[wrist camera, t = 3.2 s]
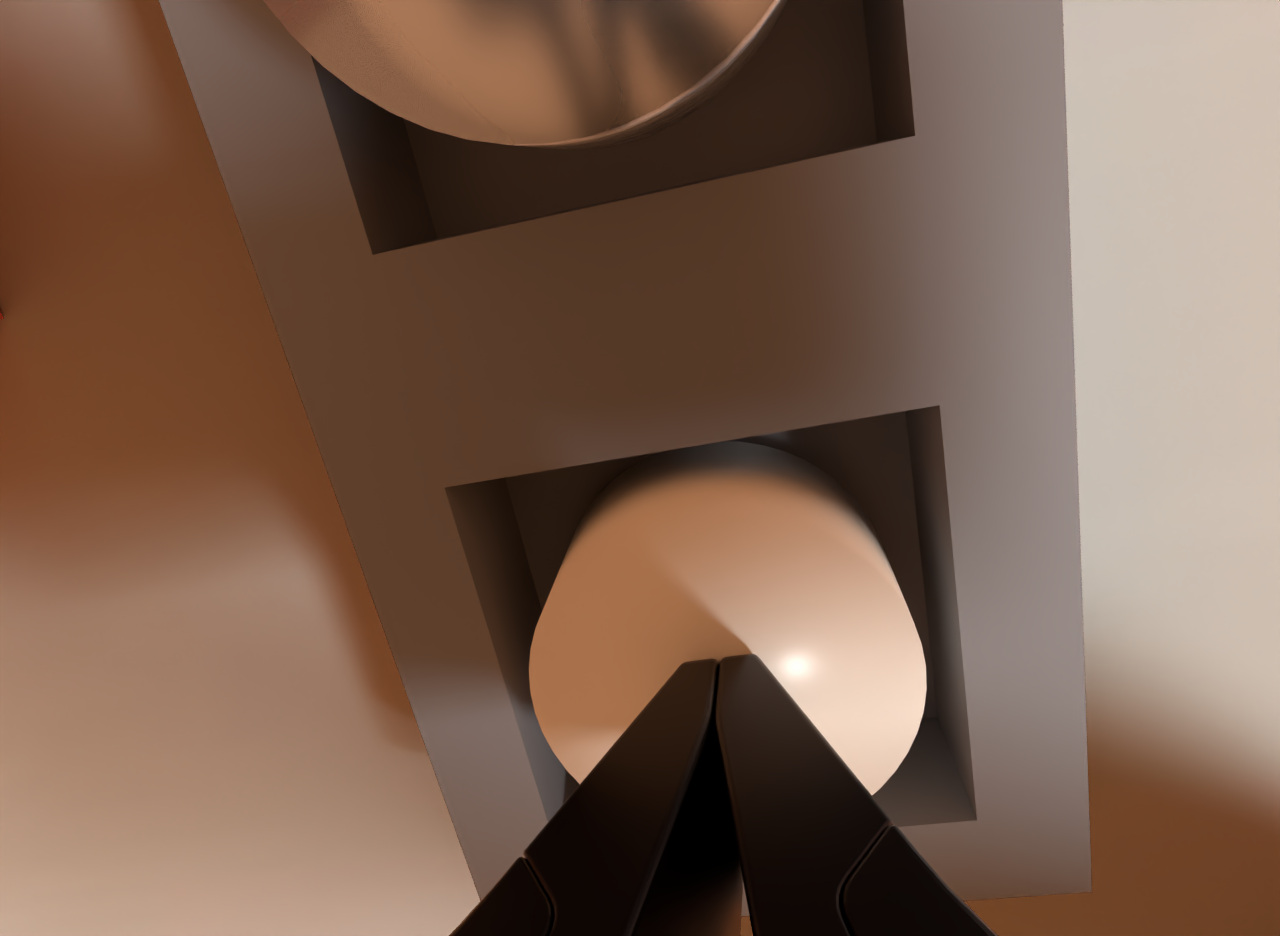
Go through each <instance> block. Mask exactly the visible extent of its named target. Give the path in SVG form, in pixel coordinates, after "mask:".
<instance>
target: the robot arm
mask: <svg viewBox="0 0 1280 936" xmlns="http://www.w3.org/2000/svg"><path fill="white" fill-rule="evenodd" d="M743 883H744V889H745V894H746V900H747V905H748V910H749V916H750V921H751V927H752V932H753V936H998V935H997V934H996V933H995V932H994V931H993V930H992V929H991V928H990V927H989V926H988V925H987V924H986V923H985V922H984V921H983V920H982V919H981V918H980V917H979V916H978V915H977V914H976V913H975V912H974V911H972V910H971V909H970V908H969V907H968V906H967V905H966V904H965V903H964V902H963V901H962V900H961V899H960V898H959V897H958V896H957V895H956V894H955V893H954V892H953V891H952V889H951V888H950V887H949V886H948V885H947V884H946V883H945V882H944V880H943V879H942V878H941V877H940V876H939V875H938V874H937V872H936V871H935V870H934V869H933V868H932V867H931V866H930V865H929V863H928V862H927V861H926V860H925V859H924V858H923V857H922V855H921V854H920V853H919V852H918V851H917V850H916V848H915V847H914V846H913V845H912V843H911V842H910V841H909V840H908V839H907V837H906V836H905V835H904V834H903V832H902V831H901V830H900V829H899V828H898V827H897V826H895V825H894V823H893V821H892V820H891V818H890V817H889V816H888V815H887V813H886V812H885V811H884V810H883V808H882V807H881V806H880V805H879V804H878V802H877V801H876V800H875V799H874V797H873V796H872V795H871V794H870V793H869V791H868V790H867V789H866V788H865V786H864V785H863V784H862V783H861V782H860V780H859V779H858V778H857V777H856V775H855V774H854V773H853V772H852V770H851V769H850V768H849V767H848V766H847V764H846V763H845V762H844V761H843V759H842V758H841V757H840V756H839V755H838V753H837V752H836V751H835V750H834V748H833V747H832V746H831V745H830V744H829V742H828V741H827V740H826V739H825V737H824V736H823V735H822V734H821V733H820V731H819V730H818V729H817V728H816V726H815V725H814V724H813V723H812V721H811V720H810V719H809V718H808V717H807V715H806V714H805V713H804V712H803V710H802V709H801V708H800V707H799V706H798V704H797V703H796V702H795V701H794V699H793V698H792V697H791V696H790V695H789V693H788V692H787V691H786V690H785V688H784V687H783V686H782V685H781V683H780V682H779V681H778V680H777V679H776V677H775V676H774V675H773V674H772V672H771V671H770V670H769V669H768V668H767V666H766V665H765V664H764V663H763V661H762V660H761V659H760V658H759V657H758V656H757V655H755V654H744V655H736V656H728V657H724V658H722V659H721V661H720V663H719V662H718V661H717V660H716V659H704V660H696V661H688V662H684V663H682V664H681V665H680V666H679V667H678V668H677V669H676V671H675V672H674V673H673V674H672V675H671V676H670V678H669V679H668V680H667V681H666V682H665V684H664V685H663V686H662V687H661V688H660V690H659V691H658V692H657V693H656V694H655V696H654V697H653V698H652V699H651V700H650V701H649V703H648V704H647V705H646V706H645V707H644V709H643V710H642V711H641V712H640V713H639V715H638V716H637V717H636V718H635V719H634V721H633V722H632V723H631V724H630V725H629V726H628V728H627V729H626V730H625V731H624V732H623V734H622V735H621V736H620V737H619V738H618V740H617V741H616V742H615V743H614V744H613V745H612V747H611V748H610V749H609V750H608V751H607V753H606V754H605V755H604V756H603V757H602V759H601V760H600V761H599V762H598V763H597V765H596V766H595V767H594V768H593V769H592V770H591V772H590V773H589V774H588V775H587V776H586V778H585V779H584V780H583V781H582V782H581V784H580V785H579V786H578V787H577V788H576V790H575V791H574V792H573V793H572V794H571V795H570V797H569V798H568V799H567V800H566V801H565V803H564V804H563V805H562V806H561V807H560V809H559V810H558V811H557V812H556V813H555V815H554V816H553V817H552V818H551V819H550V820H549V822H548V823H547V824H546V825H545V826H544V828H543V829H542V830H541V831H540V832H539V834H538V835H537V836H536V837H535V838H534V840H533V841H532V842H531V843H530V844H529V845H528V847H527V848H526V849H525V850H524V852H523V857H519V858H517V859H516V860H515V862H514V863H513V864H512V865H511V866H510V868H509V869H508V870H507V871H506V872H505V874H504V875H503V876H502V877H501V878H500V880H499V881H498V882H497V883H496V884H495V885H494V886H493V888H492V889H491V890H490V891H489V892H488V893H487V894H486V896H485V897H484V898H483V899H482V900H481V901H480V902H479V903H478V905H477V906H476V907H475V908H474V909H473V910H472V911H471V912H470V914H469V915H468V916H467V917H466V918H465V919H464V920H463V921H462V923H461V924H460V925H459V926H458V927H457V928H456V929H455V930H454V931H453V932H452V933H451V934H450V935H449V936H740V932H741V913H742V894H743Z"/></svg>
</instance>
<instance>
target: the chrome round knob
mask: <svg viewBox="0 0 1280 936" xmlns="http://www.w3.org/2000/svg"><path fill="white" fill-rule="evenodd" d="M263 1H264V2H265V3H266V5H267V6H268V7H269V8H270V10H271V11H272V12H273V13H274V15H275V16H276V17H277V18H278V19H279V21H280V22H281V23H282V24H283V26H284V27H285V28H286V29H287V31H288V32H289V33H290V34H291V35H292V36H293V37H294V38H295V39H296V40H297V41H298V42H299V43H300V44H301V45H302V46H303V47H304V48H305V49H306V50H307V51H308V52H309V53H310V54H311V55H312V56H313V57H314V58H315V59H316V60H317V61H318V62H319V63H320V64H321V65H322V66H323V67H324V68H326V69H327V70H328V71H330V72H331V73H332V74H333V75H335V76H336V77H337V78H339V79H340V80H341V81H342V82H344V83H345V84H346V85H348V86H349V87H350V88H352V89H353V90H354V91H355V92H357V93H358V94H360V95H362V96H363V97H365V98H367V99H369V100H370V101H372V102H374V103H375V104H377V105H379V106H380V107H382V108H384V109H385V110H387V111H389V112H391V113H392V114H395V115H397V116H399V117H402V118H404V119H406V120H409V121H411V122H413V123H416V124H418V125H420V126H423V127H425V128H427V129H430V130H434V131H437V132H441V133H445V134H448V135H452V136H456V137H459V138H463V139H466V140H474V141H481V142H489V143H497V144H505V145H515V146H526V147H537V148H548V149H559V150H588V149H597V148H604V147H610V146H616V145H622V144H625V143H628V142H631V141H635V140H638V139H641V138H644V137H648V136H650V135H652V134H654V133H657V132H659V131H661V130H663V129H665V128H667V127H670V126H672V125H674V124H676V123H678V122H679V121H681V120H682V119H684V118H685V117H687V116H688V115H690V114H692V113H693V112H695V111H696V110H698V109H699V108H701V107H702V106H704V105H705V104H706V103H707V102H708V101H710V100H711V99H712V98H713V97H714V96H716V95H717V94H718V93H719V92H720V91H721V90H723V89H724V88H725V87H726V86H727V85H728V84H729V83H730V82H731V81H732V80H733V79H734V78H735V77H736V76H737V74H738V73H739V72H740V71H741V70H742V69H743V68H744V67H745V66H746V65H747V64H748V62H749V61H750V60H751V59H752V57H753V56H754V55H755V53H756V52H757V50H758V49H759V48H760V46H761V45H762V43H763V42H764V41H765V39H766V38H767V36H768V35H769V34H770V32H771V30H772V28H773V27H774V25H775V23H776V21H777V19H778V17H779V16H780V14H781V12H782V10H783V8H784V7H785V5H786V3H787V1H788V0H263Z"/></svg>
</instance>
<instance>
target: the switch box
mask: <svg viewBox="0 0 1280 936" xmlns="http://www.w3.org/2000/svg"><path fill="white" fill-rule="evenodd" d="M159 3H160V6H161V8H162V11H163V14H164V17H165V20H166V22H167V25H168V28H169V31H170V34H171V36H172V39H173V42H174V45H175V48H176V50H177V53H178V56H179V59H180V62H181V64H182V67H183V70H184V73H185V75H186V78H187V81H188V84H189V87H190V89H191V92H192V95H193V98H194V101H195V103H196V106H197V109H198V112H199V115H200V117H201V120H202V123H203V126H204V129H205V131H206V134H207V137H208V140H209V143H210V145H211V148H212V151H213V154H214V157H215V159H216V162H217V165H218V168H219V171H220V173H221V176H222V179H223V182H224V185H225V187H226V190H227V193H228V196H229V199H230V201H231V204H232V207H233V210H234V213H235V215H236V218H237V221H238V224H239V227H240V229H241V232H242V235H243V238H244V241H245V243H246V246H247V249H248V252H249V254H250V257H251V260H252V263H253V266H254V268H255V271H256V274H257V277H258V280H259V282H260V285H261V288H262V291H263V294H264V296H265V299H266V302H267V305H268V308H269V310H270V313H271V316H272V319H273V322H274V324H275V327H276V330H277V333H278V336H279V338H280V341H281V344H282V347H283V350H284V352H285V355H286V358H287V361H288V364H289V366H290V369H291V372H292V375H293V378H294V380H295V383H296V386H297V389H298V392H299V394H300V397H301V400H302V403H303V406H304V408H305V411H306V414H307V417H308V419H309V422H310V425H311V428H312V431H313V433H314V436H315V439H316V442H317V445H318V447H319V450H320V453H321V456H322V459H323V461H324V464H325V467H326V470H327V473H328V475H329V478H330V481H331V484H332V487H333V489H334V492H335V495H336V498H337V501H338V503H339V506H340V509H341V512H342V515H343V517H344V520H345V523H346V526H347V529H348V531H349V534H350V537H351V540H352V543H353V545H354V548H355V551H356V554H357V557H358V559H359V562H360V565H361V568H362V571H363V573H364V576H365V579H366V582H367V584H368V587H369V590H370V593H371V596H372V598H373V601H374V604H375V607H376V610H377V612H378V615H379V618H380V621H381V624H382V626H383V629H384V632H385V635H386V638H387V640H388V643H389V646H390V649H391V652H392V654H393V657H394V660H395V663H396V666H397V668H398V671H399V674H400V677H401V680H402V682H403V685H404V688H405V691H406V694H407V696H408V699H409V702H410V705H411V708H412V710H413V713H414V716H415V719H416V722H417V724H418V727H419V730H420V733H421V736H422V738H423V741H424V744H425V747H426V750H427V752H428V755H429V758H430V761H431V763H432V766H433V769H434V772H435V775H436V777H437V780H438V783H439V786H440V789H441V791H442V794H443V797H444V800H445V803H446V805H447V808H448V811H449V814H450V817H451V819H452V822H453V825H454V828H455V831H456V833H457V836H458V839H459V842H460V845H461V847H462V850H463V853H464V856H465V859H466V861H467V864H468V867H469V870H470V873H471V875H472V878H473V881H474V884H475V887H476V889H477V892H478V895H479V898H480V901H481V900H482V899H483V898H484V897H485V896H486V894H487V893H488V892H489V891H490V890H491V889H492V888H493V886H494V885H495V884H496V883H497V882H498V881H499V880H500V878H501V877H502V876H503V875H504V874H505V872H506V871H507V870H508V869H509V868H510V866H511V865H512V864H513V863H514V862H515V860H516V859H517V858H519V857H523V852H524V850H525V849H526V848H527V847H528V845H529V844H530V843H531V842H532V841H533V840H534V838H535V837H536V836H537V835H538V834H539V832H540V831H541V830H542V829H543V828H544V826H545V825H546V824H547V823H548V822H549V820H550V819H551V818H552V817H553V816H554V815H555V813H556V812H557V811H558V810H559V809H560V807H561V806H562V805H563V804H564V803H565V801H566V800H567V799H568V798H569V797H570V795H571V794H572V793H573V792H574V791H575V790H576V788H577V787H578V786H579V785H580V784H579V783H578V782H577V781H576V780H575V779H574V778H573V776H572V775H571V774H570V773H569V772H568V771H567V770H566V769H565V768H564V766H563V765H562V763H561V762H560V761H559V759H558V758H557V757H556V755H555V754H554V752H553V751H552V749H551V747H550V745H549V744H548V742H547V740H546V738H545V736H544V734H543V733H542V730H541V727H540V725H539V722H538V719H537V717H536V714H535V711H534V706H533V702H532V697H531V693H530V681H529V661H530V649H531V645H532V640H533V636H534V632H535V628H536V625H537V623H538V621H539V618H540V616H541V613H542V611H543V608H544V606H545V604H546V601H547V599H548V596H549V594H550V591H551V589H552V586H553V584H554V582H555V579H556V577H557V574H558V572H559V569H560V567H561V565H562V562H563V560H564V557H565V555H566V552H567V550H568V548H569V545H570V543H571V540H572V538H573V535H574V533H575V531H576V528H577V526H578V524H579V522H580V520H581V519H582V517H583V515H584V513H585V512H586V510H587V508H588V507H589V506H590V504H591V503H592V502H593V501H594V499H595V498H596V497H597V496H598V495H599V493H600V492H601V491H602V490H603V489H604V488H605V487H606V486H607V485H609V484H610V483H611V482H612V481H613V480H614V479H615V478H616V477H618V476H619V475H620V474H622V473H623V472H625V471H626V470H627V469H629V468H630V467H632V466H633V465H635V464H637V463H639V462H641V461H643V460H645V459H647V458H649V457H650V456H653V455H655V454H658V453H661V452H664V451H667V450H673V449H679V448H685V447H691V446H697V445H704V444H710V443H716V442H722V441H739V442H746V443H753V444H760V445H764V446H768V447H771V448H775V449H779V450H782V451H785V452H787V453H790V454H792V455H795V456H797V457H799V458H802V459H804V460H806V461H808V462H809V463H811V464H813V465H815V466H816V467H818V468H820V469H821V470H823V471H824V472H826V473H827V474H828V475H830V476H831V477H832V478H834V479H835V480H836V481H837V482H839V483H840V484H841V485H842V486H843V487H844V488H845V489H846V490H847V491H848V492H849V493H850V494H851V495H852V496H853V497H854V498H855V499H856V500H857V502H858V503H859V505H860V506H861V507H862V509H863V510H864V511H865V513H866V514H867V515H868V517H869V519H870V521H871V523H872V524H873V526H874V528H875V530H876V532H877V534H878V536H879V539H880V541H881V544H882V546H883V548H884V551H885V553H886V556H887V558H888V561H889V563H890V565H891V568H892V570H893V573H894V575H895V578H896V580H897V583H898V585H899V587H900V590H901V592H902V595H903V597H904V600H905V602H906V604H907V607H908V609H909V612H910V614H911V617H912V619H913V621H914V624H915V627H916V630H917V633H918V635H919V638H920V641H921V644H922V648H923V654H924V659H925V664H926V684H927V691H926V698H925V706H924V712H923V716H922V719H921V722H920V726H919V729H918V732H917V735H916V737H915V739H914V741H913V743H912V745H911V747H910V750H909V752H908V753H907V755H906V756H905V758H904V759H903V761H902V762H901V764H900V765H899V767H898V768H897V770H896V771H895V773H894V774H893V775H892V776H891V777H890V778H889V779H888V780H887V781H886V783H885V784H884V785H883V786H882V787H881V788H880V789H879V790H878V791H877V792H875V793H874V794H873V795H872V796H873V797H874V799H875V800H876V801H877V802H878V804H879V805H880V806H881V807H882V808H883V810H884V811H885V812H886V813H887V815H888V816H889V817H890V818H891V820H892V821H893V823H894V825H895V826H897V827H898V828H899V829H900V830H901V831H902V832H903V834H904V835H905V836H906V837H907V839H908V840H909V841H910V842H911V843H912V845H913V846H914V847H915V848H916V850H917V851H918V852H919V853H920V854H921V855H922V857H923V858H924V859H925V860H926V861H927V862H928V863H929V865H930V866H931V867H932V868H933V869H934V870H935V871H936V872H937V874H938V875H939V876H940V877H941V878H942V879H943V880H944V882H945V883H946V884H947V885H948V886H949V887H950V888H951V889H952V891H953V892H954V893H955V894H956V895H957V896H958V897H959V898H960V899H961V900H962V901H970V900H985V899H999V898H1013V897H1027V896H1042V895H1056V894H1070V893H1085V892H1092V880H1091V850H1090V819H1089V789H1088V759H1087V729H1086V699H1085V669H1084V639H1083V609H1082V579H1081V549H1080V519H1079V489H1078V459H1077V429H1076V399H1075V369H1074V339H1073V309H1072V279H1071V249H1070V218H1069V188H1068V158H1067V128H1066V98H1065V68H1064V38H1063V8H1062V0H788V1H787V3H786V5H785V7H784V8H783V10H782V12H781V14H780V16H779V17H778V19H777V21H776V23H775V25H774V27H773V28H772V30H771V32H770V34H769V35H768V36H767V38H766V39H765V41H764V42H763V43H762V45H761V46H760V48H759V49H758V50H757V52H756V53H755V55H754V56H753V57H752V59H751V60H750V61H749V62H748V64H747V65H746V66H745V67H744V68H743V69H742V70H741V71H740V72H739V73H738V74H737V76H736V77H735V78H734V79H733V80H732V81H731V82H730V83H729V84H728V85H727V86H726V87H725V88H724V89H723V90H721V91H720V92H719V93H718V94H717V95H716V96H714V97H713V98H712V99H711V100H710V101H708V102H707V103H706V104H705V105H704V106H702V107H701V108H699V109H698V110H696V111H695V112H693V113H692V114H690V115H688V116H687V117H685V118H684V119H682V120H681V121H679V122H678V123H676V124H674V125H672V126H670V127H667V128H665V129H663V130H661V131H659V132H657V133H654V134H652V135H650V136H648V137H644V138H641V139H638V140H635V141H631V142H628V143H625V144H622V145H616V146H610V147H604V148H597V149H588V150H559V149H548V148H537V147H526V146H515V145H505V144H497V143H489V142H481V141H474V140H466V139H463V138H459V137H456V136H452V135H448V134H445V133H441V132H437V131H434V130H430V129H427V128H425V127H423V126H420V125H418V124H416V123H413V122H411V121H409V120H406V119H404V118H402V117H399V116H397V115H395V114H392V113H391V112H389V111H387V110H385V109H384V108H382V107H380V106H379V105H377V104H375V103H374V102H372V101H370V100H369V99H367V98H365V97H363V96H362V95H360V94H358V93H357V92H355V91H354V90H353V89H352V88H350V87H349V86H348V85H346V84H345V83H344V82H342V81H341V80H340V79H339V78H337V77H336V76H335V75H333V74H332V73H331V72H330V71H328V70H327V69H326V68H324V67H323V66H322V65H321V64H320V63H319V62H318V61H317V60H316V59H315V58H314V57H313V56H312V55H311V54H310V53H309V52H308V51H307V50H306V49H305V48H304V47H303V46H302V45H301V44H300V43H299V42H298V41H297V40H296V39H295V38H294V37H293V36H292V35H291V34H290V33H289V32H288V31H287V29H286V28H285V27H284V26H283V24H282V23H281V22H280V21H279V19H278V18H277V17H276V16H275V15H274V13H273V12H272V11H271V10H270V8H269V7H268V6H267V5H266V3H265V2H264V1H263V0H159ZM742 916H749V910H748V905H747V900H746V894H745V889H744V883H743V894H742V913H741V917H742Z"/></svg>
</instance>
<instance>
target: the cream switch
mask: <svg viewBox="0 0 1280 936" xmlns="http://www.w3.org/2000/svg"><path fill="white" fill-rule="evenodd" d="M744 654H755V655H757V656H758V657H759V658H760V659H761V660H762V661H763V663H764V664H765V665H766V666H767V668H768V669H769V670H770V671H771V672H772V674H773V675H774V676H775V677H776V679H777V680H778V681H779V682H780V683H781V685H782V686H783V687H784V688H785V690H786V691H787V692H788V693H789V695H790V696H791V697H792V698H793V699H794V701H795V702H796V703H797V704H798V706H799V707H800V708H801V709H802V710H803V712H804V713H805V714H806V715H807V717H808V718H809V719H810V720H811V721H812V723H813V724H814V725H815V726H816V728H817V729H818V730H819V731H820V733H821V734H822V735H823V736H824V737H825V739H826V740H827V741H828V742H829V744H830V745H831V746H832V747H833V748H834V750H835V751H836V752H837V753H838V755H839V756H840V757H841V758H842V759H843V761H844V762H845V763H846V764H847V766H848V767H849V768H850V769H851V770H852V772H853V773H854V774H855V775H856V777H857V778H858V779H859V780H860V782H861V783H862V784H863V785H864V786H865V788H866V789H867V790H868V791H869V793H870V794H871V795H873V794H874V793H875V792H877V791H878V790H879V789H880V788H881V787H882V786H883V785H884V784H885V783H886V781H887V780H888V779H889V778H890V777H891V776H892V775H893V774H894V773H895V771H896V770H897V768H898V767H899V765H900V764H901V762H902V761H903V759H904V758H905V756H906V755H907V753H908V752H909V750H910V747H911V745H912V743H913V741H914V739H915V737H916V735H917V732H918V729H919V726H920V722H921V719H922V716H923V712H924V706H925V698H926V691H927V684H926V664H925V659H924V654H923V648H922V644H921V641H920V638H919V635H918V633H917V630H916V627H915V624H914V621H913V619H912V617H911V614H910V612H909V609H908V607H907V604H906V602H905V600H904V597H903V595H902V592H901V590H900V587H899V585H898V583H897V580H896V578H895V575H894V573H893V570H892V568H891V565H890V563H889V561H888V558H887V556H886V553H885V551H884V548H883V546H882V544H881V541H880V539H879V536H878V534H877V532H876V530H875V528H874V526H873V524H872V523H871V521H870V519H869V517H868V515H867V514H866V513H865V511H864V510H863V509H862V507H861V506H860V505H859V503H858V502H857V500H856V499H855V498H854V497H853V496H852V495H851V494H850V493H849V492H848V491H847V490H846V489H845V488H844V487H843V486H842V485H841V484H840V483H839V482H837V481H836V480H835V479H834V478H832V477H831V476H830V475H828V474H827V473H826V472H824V471H823V470H821V469H820V468H818V467H816V466H815V465H813V464H811V463H809V462H808V461H806V460H804V459H802V458H799V457H797V456H795V455H792V454H790V453H787V452H785V451H782V450H779V449H775V448H771V447H768V446H764V445H760V444H753V443H746V442H739V441H722V442H716V443H710V444H704V445H697V446H691V447H685V448H679V449H673V450H667V451H664V452H661V453H658V454H655V455H653V456H650V457H649V458H647V459H645V460H643V461H641V462H639V463H637V464H635V465H633V466H632V467H630V468H629V469H627V470H626V471H625V472H623V473H622V474H620V475H619V476H618V477H616V478H615V479H614V480H613V481H612V482H611V483H610V484H609V485H607V486H606V487H605V488H604V489H603V490H602V491H601V492H600V493H599V495H598V496H597V497H596V498H595V499H594V501H593V502H592V503H591V504H590V506H589V507H588V508H587V510H586V512H585V513H584V515H583V517H582V519H581V520H580V522H579V524H578V526H577V528H576V531H575V533H574V535H573V538H572V540H571V543H570V545H569V548H568V550H567V552H566V555H565V557H564V560H563V562H562V565H561V567H560V569H559V572H558V574H557V577H556V579H555V582H554V584H553V586H552V589H551V591H550V594H549V596H548V599H547V601H546V604H545V606H544V608H543V611H542V613H541V616H540V618H539V621H538V623H537V625H536V628H535V632H534V636H533V640H532V645H531V649H530V661H529V681H530V693H531V697H532V702H533V706H534V711H535V714H536V717H537V719H538V722H539V725H540V727H541V730H542V733H543V734H544V736H545V738H546V740H547V742H548V744H549V745H550V747H551V749H552V751H553V752H554V754H555V755H556V757H557V758H558V759H559V761H560V762H561V763H562V765H563V766H564V768H565V769H566V770H567V771H568V772H569V773H570V774H571V775H572V776H573V778H574V779H575V780H576V781H577V782H578V783H579V784H581V782H582V781H583V780H584V779H585V778H586V776H587V775H588V774H589V773H590V772H591V770H592V769H593V768H594V767H595V766H596V765H597V763H598V762H599V761H600V760H601V759H602V757H603V756H604V755H605V754H606V753H607V751H608V750H609V749H610V748H611V747H612V745H613V744H614V743H615V742H616V741H617V740H618V738H619V737H620V736H621V735H622V734H623V732H624V731H625V730H626V729H627V728H628V726H629V725H630V724H631V723H632V722H633V721H634V719H635V718H636V717H637V716H638V715H639V713H640V712H641V711H642V710H643V709H644V707H645V706H646V705H647V704H648V703H649V701H650V700H651V699H652V698H653V697H654V696H655V694H656V693H657V692H658V691H659V690H660V688H661V687H662V686H663V685H664V684H665V682H666V681H667V680H668V679H669V678H670V676H671V675H672V674H673V673H674V672H675V671H676V669H677V668H678V667H679V666H680V665H681V664H682V663H684V662H688V661H696V660H704V659H716V660H717V661H718V662H719V663H720V661H721V659H722V658H724V657H728V656H736V655H744Z"/></svg>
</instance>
